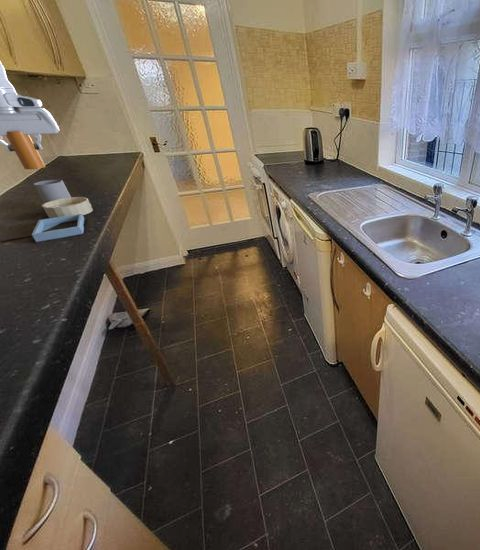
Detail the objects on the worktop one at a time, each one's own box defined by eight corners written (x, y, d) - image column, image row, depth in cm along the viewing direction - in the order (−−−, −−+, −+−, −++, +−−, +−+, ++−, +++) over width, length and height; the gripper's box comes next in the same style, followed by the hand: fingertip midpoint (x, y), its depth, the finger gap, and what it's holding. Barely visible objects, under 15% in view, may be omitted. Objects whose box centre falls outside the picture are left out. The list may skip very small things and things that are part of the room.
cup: (65, 209, 119) (52, 184, 114) (42, 210, 118) (27, 185, 113) (79, 203, 127) (67, 179, 121) (57, 203, 125) (44, 180, 120)
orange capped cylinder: (23, 170, 94) (-7, 116, 86) (25, 167, 97) (-3, 115, 89) (44, 168, 96) (17, 116, 89) (46, 165, 100) (20, 115, 92)
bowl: (46, 223, 107) (39, 210, 105) (51, 213, 116) (44, 200, 113) (93, 216, 114) (87, 203, 112) (94, 207, 123) (88, 195, 120)
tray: (36, 242, 94) (31, 234, 93) (42, 226, 104) (38, 219, 103) (83, 233, 100) (79, 226, 99) (85, 220, 110) (81, 213, 109)
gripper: (-60, 99, 79) (-26, 154, 86) (44, 100, 90) (67, 149, 97) (-52, 99, 83) (-20, 151, 91) (46, 100, 94) (68, 146, 101)
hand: (26, 150), depth 94 cm, fingers closed on orange capped cylinder, 5 cm apart
